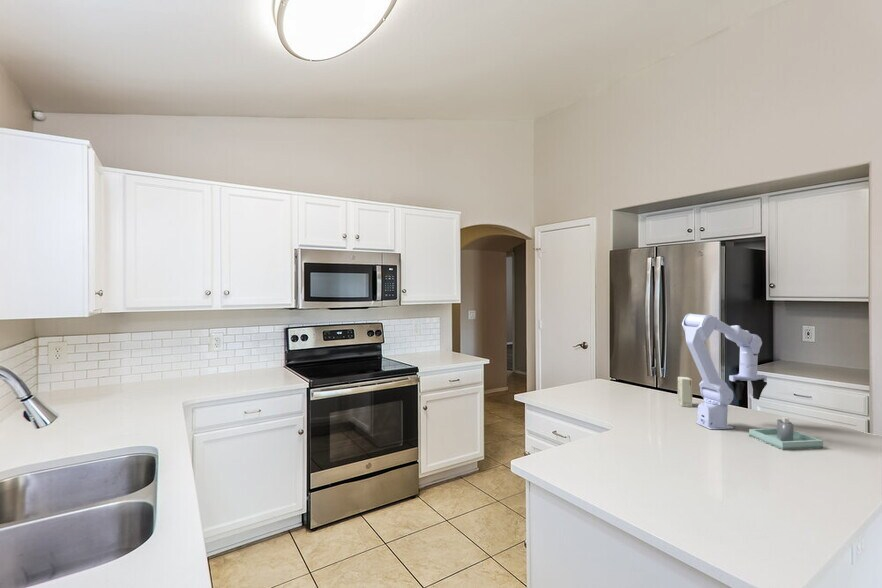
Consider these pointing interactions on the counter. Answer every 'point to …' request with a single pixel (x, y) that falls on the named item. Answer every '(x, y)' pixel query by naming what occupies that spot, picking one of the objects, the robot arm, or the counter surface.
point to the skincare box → (685, 391)
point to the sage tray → (798, 441)
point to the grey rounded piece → (785, 429)
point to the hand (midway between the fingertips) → (747, 399)
